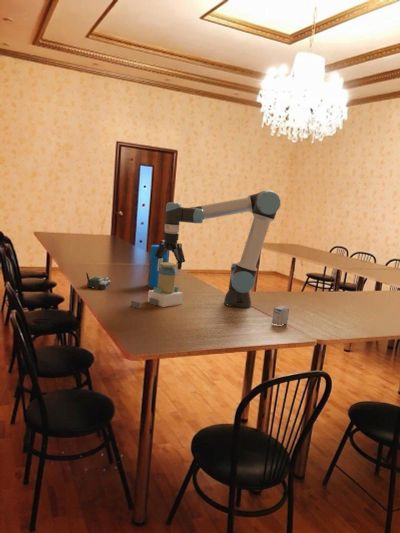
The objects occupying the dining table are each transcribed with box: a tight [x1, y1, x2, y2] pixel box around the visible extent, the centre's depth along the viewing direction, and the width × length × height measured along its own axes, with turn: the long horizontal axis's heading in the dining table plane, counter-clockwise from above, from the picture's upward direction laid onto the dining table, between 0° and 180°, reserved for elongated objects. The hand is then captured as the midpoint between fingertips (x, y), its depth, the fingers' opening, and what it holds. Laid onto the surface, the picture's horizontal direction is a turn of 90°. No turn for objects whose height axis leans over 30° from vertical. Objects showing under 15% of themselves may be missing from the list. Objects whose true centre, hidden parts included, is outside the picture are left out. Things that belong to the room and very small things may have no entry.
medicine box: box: [271, 305, 290, 325], centre depth 223 cm, size 8×4×9 cm, turn 141°
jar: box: [157, 262, 177, 293], centre depth 242 cm, size 9×9×15 cm
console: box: [130, 285, 184, 309], centre depth 238 cm, size 12×28×8 cm, turn 138°
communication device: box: [85, 272, 111, 290], centre depth 270 cm, size 12×24×9 cm, turn 178°
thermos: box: [147, 244, 170, 289], centre depth 280 cm, size 11×11×25 cm
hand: (168, 272), depth 241 cm, fingers open, 13 cm apart
